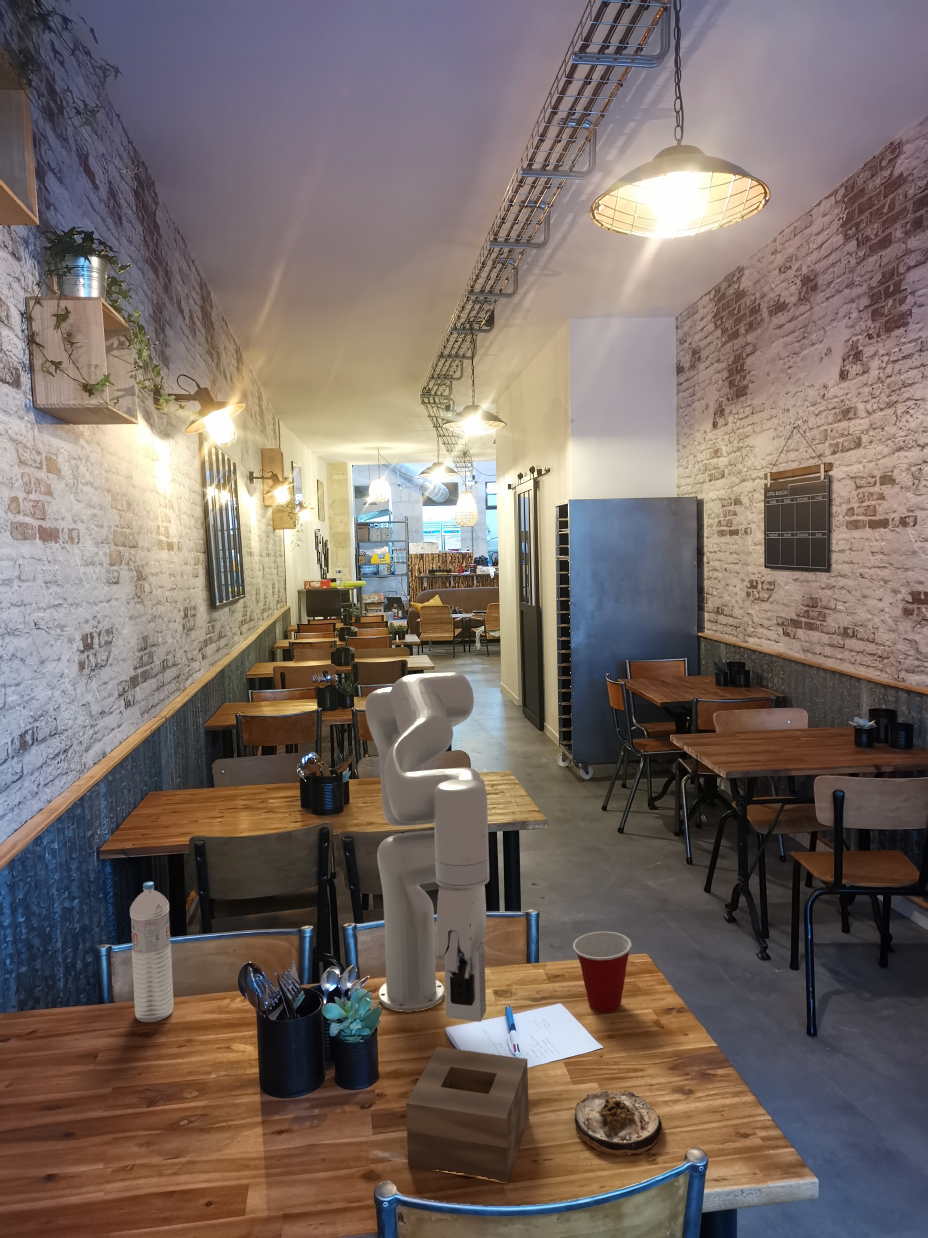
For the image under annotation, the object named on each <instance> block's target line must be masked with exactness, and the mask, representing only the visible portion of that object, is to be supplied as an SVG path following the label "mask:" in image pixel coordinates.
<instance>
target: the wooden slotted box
mask: <svg viewBox="0 0 928 1238" xmlns="http://www.w3.org/2000/svg"><path fill="white" fill-rule="evenodd" d="M528 1065H529V1064H528V1058H522V1057H517V1056H509V1055H500V1054H495V1053H486V1052H479V1051H471V1050H464V1049H458V1048H447V1047H442V1046H437V1047H436V1048H435V1050H434V1051H433V1054H432V1055H431V1058H430V1059H429V1060H428V1063H427V1064H426V1067H425V1068H424V1070H423V1072H422V1073H421V1075H420V1077H419V1079H418V1081H417V1082H416V1084H415V1086H414V1088H413V1089H412V1092H410V1095H409V1097H408V1099H407V1101H406V1102H405V1112H406V1115H405V1116H406V1143H407V1144H406V1147H407V1167H410V1168H414V1169H415V1168H416V1169H420V1170H427V1171H431V1170H439V1171H448V1172H456V1173H464V1174H468V1175H476V1176H481V1177H486V1178H488V1179H495V1180H498V1181H501V1182H505V1183H506V1182H508V1180H509V1181H510V1179H509V1177H510V1178H511V1175H512V1172H513V1169H512V1168H514V1165H515V1163H516V1160H517V1157H518V1152H519V1150H520V1146H521V1143H522V1140H523V1138H524V1135H525V1131H526V1127H527V1125H528V1123H529V1122H528V1121H529V1119H530V1118H529V1117H530V1115H529V1111H530V1110H529V1109H530V1108H529V1106H530V1105H529V1076H528V1075H529V1072H528V1069H529V1067H528ZM514 1162H515V1163H514ZM511 1171H512V1172H511ZM510 1174H511V1175H510ZM508 1183H509V1182H508Z"/></svg>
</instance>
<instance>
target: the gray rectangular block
mask: <svg viewBox="0 0 928 1238" xmlns="http://www.w3.org/2000/svg"><path fill="white" fill-rule="evenodd" d="M448 953H449V949H448V951H447V952H446V954H445V955H444V957H443V959H444V982H445V983H444V984H445V985H444V986H445V987H444V993H445V1017H446V1018H447V1019H455V1020H463V1021H470V1022H478V1023H481V1022H482V1020H483V1019H484V1015H485V1014H486V1012H487V1004H486V1002H487V998H486V993H487V992H486V968H485V967H486V965H485V964H486V963H485V962H486V961H485V960H486V959H485V942H484V941H481V943H480V945H479V946H478V948H477V950H476V951H475V953H474V954H473V956H472V957H471V975H470V976H473V996H474V1002H473V1004H472V1006H468V1005H459V1004H452V1003H451V997H450V976H449V972H447V962H448ZM459 953H461V954H464V952H459ZM459 964H463V965H464V967H465V961H459Z"/></svg>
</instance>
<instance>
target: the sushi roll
mask: <svg viewBox="0 0 928 1238" xmlns="http://www.w3.org/2000/svg"><path fill="white" fill-rule="evenodd" d="M612 1091H613V1092H610V1091H609V1092H608V1091H606V1090H603V1091H597V1092H593V1093H590V1094H586V1097H584V1098H583V1099H578V1102H576V1107H575V1109H574V1111H575V1112H574V1124H575V1132H576V1131H577V1134H578V1135H579V1137H580V1138H581V1139H580V1138H579V1137H578V1138H579V1139H580V1140H582V1139H583V1141H584V1140H585V1141H586V1142H587V1143H586V1142H585V1141H584V1142H585V1143H586V1144H588V1145H589V1144H590V1145H589V1146H591V1147H592V1146H593V1147H592V1148H594V1147H595V1148H596V1149H595V1148H594V1149H595V1150H598V1151H600V1150H601V1151H600V1152H603V1151H604V1153H606V1154H609V1153H610V1154H609V1155H613V1154H616V1155H615V1156H623V1155H627V1154H630V1155H636V1156H640V1155H643V1153H647V1152H650V1151H652V1149H653V1148H654V1146H655V1145H656V1144H657V1143H658V1142H659V1140H660V1138H661V1137H660V1136H661V1134H662V1129H663V1123H662V1120H661V1118H660V1115H658V1114H657V1112H656V1110H655V1109H654V1108H653V1107H652V1106H651V1105H650V1104H649V1103H648V1102H647V1101H646V1100H645V1099H644V1098H643V1097H641V1096H640V1095H636V1094H635V1093H634V1092H632V1091H628V1090H626V1089H625V1090H623V1092H622V1091H620V1092H618V1090H615V1092H616V1093H615V1092H614V1090H613V1089H612ZM579 1101H580V1102H579ZM577 1134H576V1135H577ZM578 1135H577V1136H578ZM625 1153H626V1154H625ZM622 1154H623V1155H622ZM630 1155H629V1156H630Z"/></svg>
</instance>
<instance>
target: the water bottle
mask: <svg viewBox="0 0 928 1238" xmlns="http://www.w3.org/2000/svg"><path fill="white" fill-rule="evenodd" d="M154 886H155V883H154V881H147V882H144V883H143V884H142V890H143V892H141V893H140V894H139V895H137V897H136V898H135V899H134V901H133V902H132V903H131V906H130V907H129V917H130V921H131V923H130V924H131V943H132V944H131V945H132V946H131V954H132V955H131V958H132V973H133V974H132V979H133V981H132V982H133V998H134V1001H133V1002H134V1013H135V1017H136V1019H137V1020H138V1021H140V1022H141V1023H155V1022H159V1021H162V1020H164V1019H166V1018H167V1017H169V1016H170V1015H171V1014H172V1013H173V1011H174V990H173V989H174V986H173V984H174V982H173V968H172V965H173V963H172V960H173V959H172V943H171V935H170V933H171V932H170V931H171V930H170V913H169V911H170V903H169V901H168V899H167V898H166V896H165V895H164V894H162V893H161V892H159V891H157V890H154V888H155V887H154Z"/></svg>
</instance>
